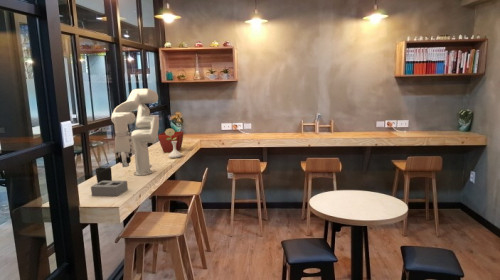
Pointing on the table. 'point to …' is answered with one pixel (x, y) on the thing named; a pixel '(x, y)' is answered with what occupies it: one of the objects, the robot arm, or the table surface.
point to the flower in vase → (174, 153)
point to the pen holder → (103, 174)
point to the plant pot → (167, 144)
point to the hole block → (109, 188)
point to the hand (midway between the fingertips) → (125, 162)
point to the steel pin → (124, 159)
